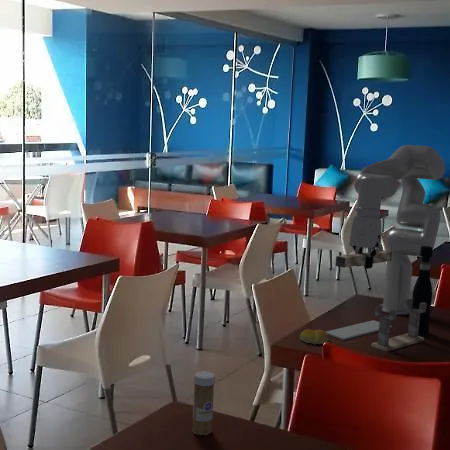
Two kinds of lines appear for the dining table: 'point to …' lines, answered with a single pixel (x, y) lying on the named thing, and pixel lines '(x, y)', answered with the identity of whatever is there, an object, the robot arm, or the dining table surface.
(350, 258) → the rail
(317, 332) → the bread roll
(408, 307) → the rack
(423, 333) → the wine bottle
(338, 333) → the mat
